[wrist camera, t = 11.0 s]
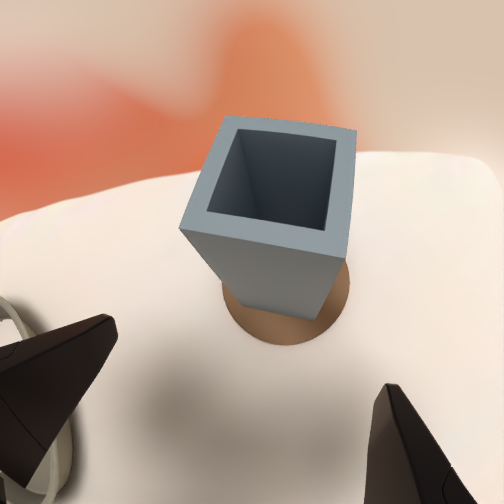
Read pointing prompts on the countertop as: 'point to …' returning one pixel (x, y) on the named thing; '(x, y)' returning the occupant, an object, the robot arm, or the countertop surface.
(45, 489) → the cake pan
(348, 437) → the countertop surface
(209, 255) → the sleeve
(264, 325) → the pin base
